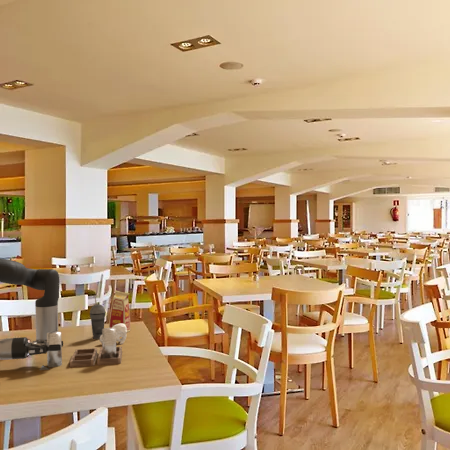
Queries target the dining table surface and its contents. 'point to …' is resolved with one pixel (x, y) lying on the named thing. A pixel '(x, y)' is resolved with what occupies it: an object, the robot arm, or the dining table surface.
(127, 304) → the milk carton
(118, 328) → the white animal figurine
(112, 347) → the cylinder
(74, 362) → the tray
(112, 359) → the tray
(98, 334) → the beverage cup
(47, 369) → the rubber mat
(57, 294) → the robot arm
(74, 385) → the dining table surface
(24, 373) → the dining table surface
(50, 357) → the steel billet
